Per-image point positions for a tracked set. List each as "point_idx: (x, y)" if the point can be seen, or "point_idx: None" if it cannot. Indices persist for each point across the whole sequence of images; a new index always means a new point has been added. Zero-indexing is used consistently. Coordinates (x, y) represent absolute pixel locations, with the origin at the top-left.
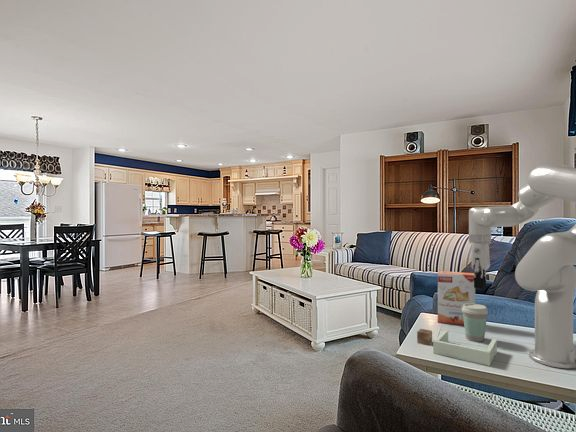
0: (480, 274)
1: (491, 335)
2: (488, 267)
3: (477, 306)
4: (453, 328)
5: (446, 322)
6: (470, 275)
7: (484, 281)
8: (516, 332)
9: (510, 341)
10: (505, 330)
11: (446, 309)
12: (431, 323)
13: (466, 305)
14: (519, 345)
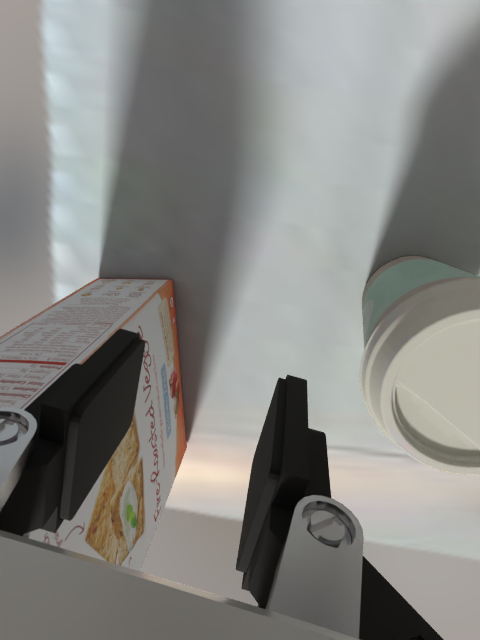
0: (363, 606)
1: (311, 205)
2: (27, 577)
3: (472, 374)
4: (256, 384)
5: (183, 412)
6: None
7: (117, 378)
8: (187, 38)
9: (395, 104)
10: (173, 108)
11: (165, 460)
12: (214, 470)
13: (419, 442)
14: (463, 56)
